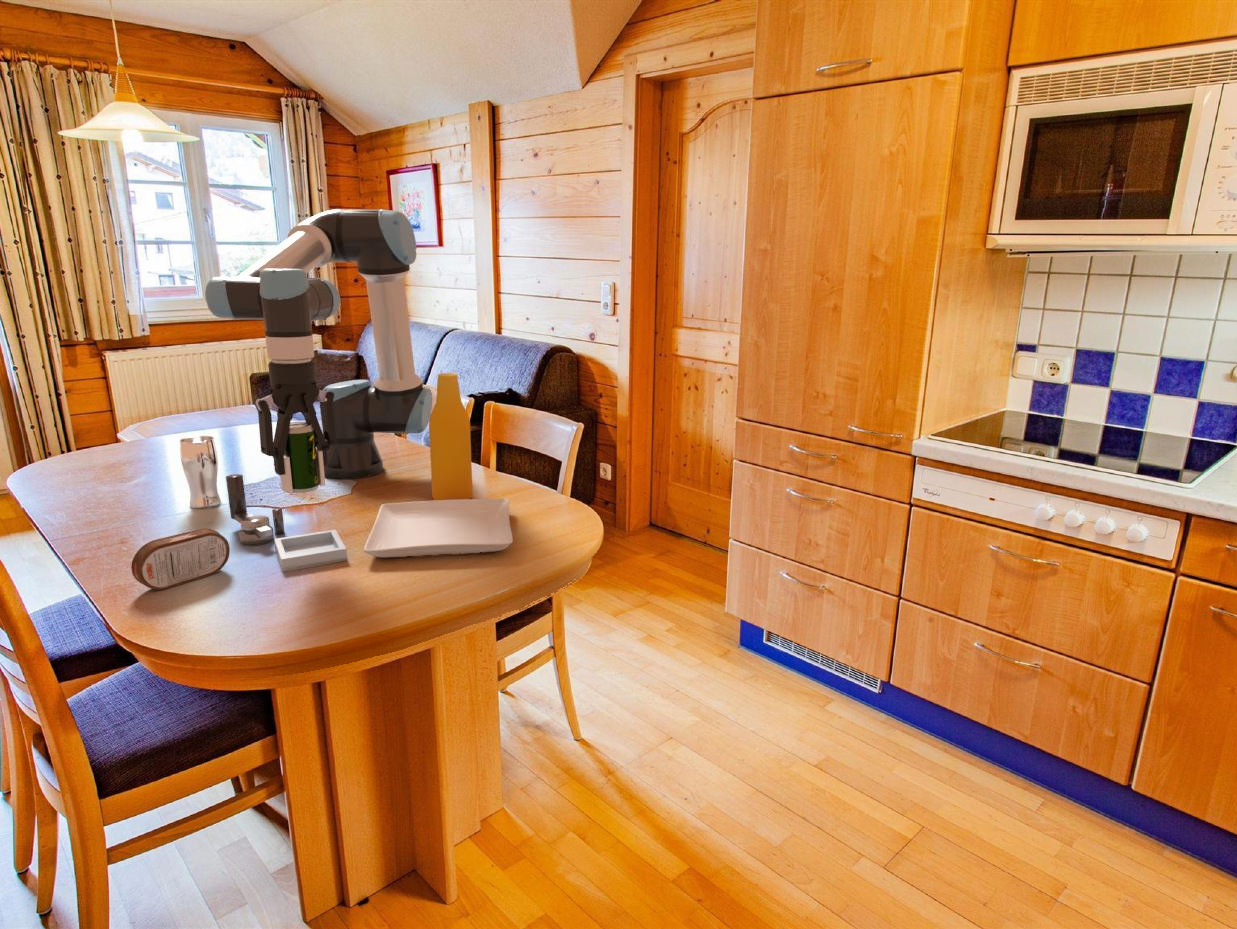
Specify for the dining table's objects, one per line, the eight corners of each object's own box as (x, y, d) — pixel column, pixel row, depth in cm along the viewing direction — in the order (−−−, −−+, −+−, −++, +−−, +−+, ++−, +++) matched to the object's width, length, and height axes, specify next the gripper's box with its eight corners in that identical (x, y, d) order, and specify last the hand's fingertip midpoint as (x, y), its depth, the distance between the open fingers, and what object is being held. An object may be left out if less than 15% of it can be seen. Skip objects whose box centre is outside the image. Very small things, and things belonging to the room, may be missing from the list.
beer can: (289, 494, 133) (282, 429, 130) (286, 486, 137) (279, 422, 134) (321, 491, 135) (315, 426, 132) (317, 483, 140) (311, 420, 137)
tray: (336, 541, 147) (335, 529, 147) (347, 560, 138) (346, 548, 137) (275, 550, 142) (274, 538, 141) (282, 571, 133) (281, 559, 132)
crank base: (283, 530, 152) (281, 507, 151) (287, 540, 147) (285, 516, 146) (177, 546, 143) (173, 521, 142) (177, 557, 138) (173, 532, 137)
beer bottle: (431, 505, 169) (425, 378, 161) (432, 493, 177) (426, 371, 170) (473, 504, 171) (469, 377, 163) (472, 491, 179) (468, 371, 171)
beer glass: (208, 510, 163) (199, 443, 158) (180, 508, 164) (170, 441, 160) (230, 501, 169) (222, 436, 165) (203, 498, 170) (194, 434, 166)
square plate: (508, 512, 167) (508, 495, 166) (513, 560, 141) (513, 541, 140) (382, 517, 162) (381, 500, 161) (363, 568, 136) (361, 548, 135)
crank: (280, 533, 144) (275, 490, 142) (253, 539, 141) (248, 496, 139) (249, 512, 155) (244, 472, 153) (223, 517, 152) (218, 477, 149)
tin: (226, 565, 135) (220, 521, 133) (235, 569, 133) (229, 525, 131) (134, 593, 124) (126, 545, 121) (142, 598, 122) (134, 550, 120)
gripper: (330, 353, 139) (340, 473, 145) (227, 362, 126) (243, 493, 132) (351, 357, 134) (360, 481, 141) (246, 367, 121) (261, 503, 127)
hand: (303, 487), depth 136 cm, fingers closed on beer can, 5 cm apart
